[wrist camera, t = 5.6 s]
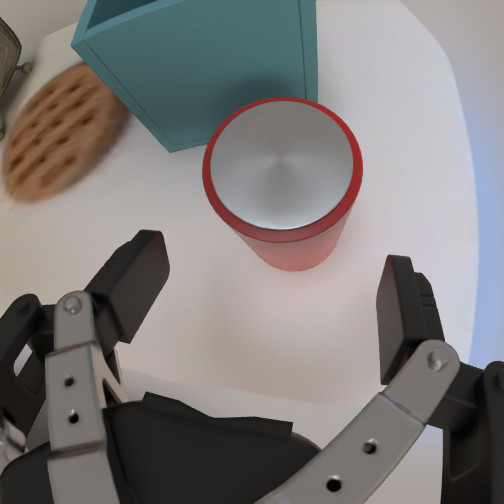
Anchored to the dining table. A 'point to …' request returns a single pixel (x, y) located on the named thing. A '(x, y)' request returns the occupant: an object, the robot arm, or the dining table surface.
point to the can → (284, 179)
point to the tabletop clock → (9, 58)
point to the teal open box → (199, 59)
